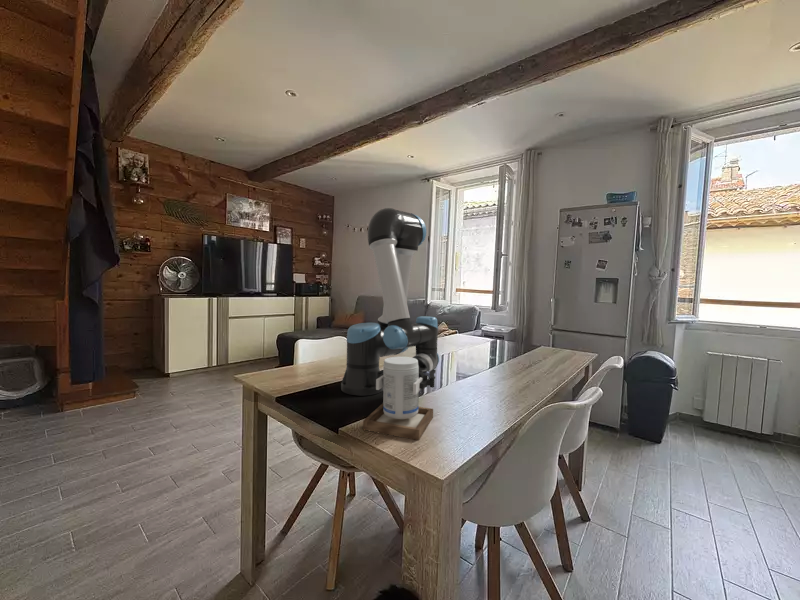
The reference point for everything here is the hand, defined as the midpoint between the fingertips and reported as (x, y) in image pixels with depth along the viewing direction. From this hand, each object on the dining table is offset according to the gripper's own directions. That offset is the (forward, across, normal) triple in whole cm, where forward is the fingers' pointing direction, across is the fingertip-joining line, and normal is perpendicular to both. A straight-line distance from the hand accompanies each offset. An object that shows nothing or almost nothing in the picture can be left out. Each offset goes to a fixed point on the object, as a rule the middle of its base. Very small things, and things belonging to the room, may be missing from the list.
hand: (395, 387), depth 85 cm
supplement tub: (-4, 0, -9) cm, 10 cm away
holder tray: (-5, 0, -11) cm, 12 cm away
